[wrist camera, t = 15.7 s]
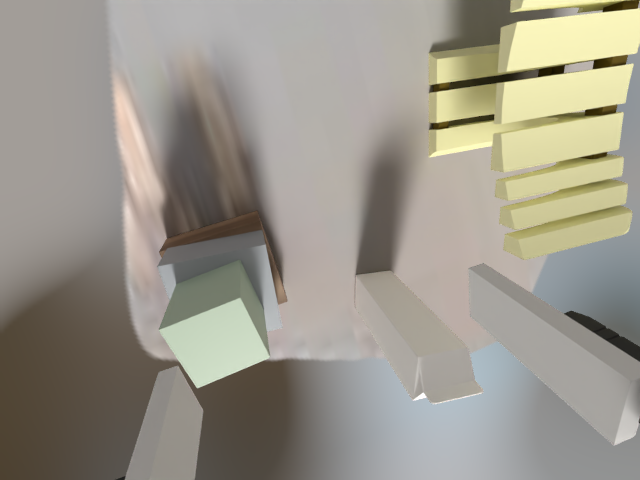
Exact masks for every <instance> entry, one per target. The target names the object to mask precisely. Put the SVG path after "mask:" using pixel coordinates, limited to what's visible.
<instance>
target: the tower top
mask: <svg viewBox="0 0 640 480" xmlns="http://www.w3.org/2000/svg"><path fill="white" fill-rule="evenodd" d="M237 260H241V263H242V265H243V267H244V269H245V271H246V273H247V275H248V277H249V280H250V282H251V284H252V286H253V288H254V290H255V292H256V294H257V297H258V299H259V301H260V303H261V305H262V307H263V309H264V314H265V322H266V329H267V332H268V331H272V330H276V329H280V328H283V327H282V322H281V317H280V312H279V308H278V303H277V298H276V293H275V288H274V283H273V278H272V273H271V268H270V264H269V259H268V254H267V249H266V244H265V240H264V235H263V231H262V230H258V231H253V232H248V233H243V234H238V235H233V236H228V237H222V238H217V239H212V240H207V241H202V242H197V243H192V244H187V245H181V246H176V247H171V248H167V250H166V252H165V253H164V255H163V257H162V259H161V261H160V263H159V265H158V266H157V267H158V270H159V273H160V275H161V278H162V281H163V284H164V287H165V289H166V292H167V295H168V298H169V300H170V299H171V297H172V294H173V291H174V289H175V286H176V284H178V283H180V282H183V281H186V280H188V279H191V278H193V277H196V276H199V275H201V274H204V273H206V272H209V271H211V270H214V269H217V268H219V267H222V266H224V265H227V264H229V263H232V262H235V261H237Z"/></svg>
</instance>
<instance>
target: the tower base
mask: <svg viewBox="0 0 640 480" xmlns="http://www.w3.org/2000/svg"><path fill="white" fill-rule="evenodd" d="M258 230H262V231H263V235H264V240H265V244H266V249H267V254H268V259H269V264H270V268H271V273H272V278H273V283H274V288H275V293H276V298H277V303H278V305H279V304H281V303H284V302H287V297H286V294H285V290H284V286H283V283H282V280H281V277H280V275H279V272H278V269H277V266H276V263H275V260H274V257H273V254H272V251H271V248H270V246H269V243H268V240H267V237H266V234H265V231H264V228H263V225H262V222H261V219H260V217H259V214H258V211H254V212H251V213H248V214H245V215H241V216H238V217H235V218H232V219H228V220H225V221H222V222H219V223H215V224H212V225H209V226H206V227H203V228H199V229H196V230H193V231H190V232H186V233H183V234H180V235H177V236H173V237H170V238H167V239H166V241H165V243H164V244H163V246H162V248H161V250H160V251H159V253H160V255H161V257H163V255H164V253H165V252H166V250H167V248H171V247H176V246H181V245H187V244H192V243H197V242H202V241H207V240H212V239H217V238H222V237H228V236H233V235H238V234H243V233H248V232H253V231H258Z"/></svg>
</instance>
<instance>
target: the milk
mask: <svg viewBox="0 0 640 480" xmlns="http://www.w3.org/2000/svg"><path fill="white" fill-rule="evenodd" d="M355 308H356V310H357V312H358V313H359V315H360V317H361V318H362V320H363V321H364V323H365V325H366V326H367V328H368V329H369V331H370V333H371V334H372V336H373V338H374V339H375V341H376V342H377V344H378V346H379V347H380V349H381V350H382V352H383V354H384V355H385V357H386V358H387V360H388V361H389V363H390V365H391V367H392V368H393V370H394V371H395V373H396V374H397V376H398V378H399V379H400V381H401V383H402V384H403V386H404V388H405V389H406V391H407V392H408V394H409V396H410V397H411V399H412V400H418V399H422V398H428V400H429V401H430V402H431V403H432V404H438V403H442V402H447V401H451V400H455V399H459V398H464V397H468V396H472V395H477V394H481V393H483V389H482V388H481V387H480V386H479V385H478V383H477V382H476V381H475V378H474V373H473V368H472V363H471V358H470V352H469V348H468V347H467V346H466V345H465V344H464V343H463V342H462V341H461V340H460V339H459V338H458V337H457V336H456V335H455V334H454V333H453V332H452V331H451V330H450V329H449V328H448V327H447V326H446V325H445V324H444V323H443V322H442V321H441V320H440V319H439V318H438V317H437V316H436V315H435V314H434V313H433V312H432V311H431V310H430V309H429V308H428V307H427V306H426V305H425V304H424V303H423V302H422V301H421V300H420V299H419V298H418V297H417V296H416V295H415V294H414V293H413V292H412V291H411V290H410V289H409V288H408V287H407V286H406V285H405V284H404V283H403V282H402V281H401V280H400V279H399V278H398V277H397V276H396V275H395V274H394V273H393V272H392V271H383V272H375V273H367V274H359V275H356V284H355Z"/></svg>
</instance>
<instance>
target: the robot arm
mask: <svg viewBox="0 0 640 480" xmlns="http://www.w3.org/2000/svg"><path fill="white" fill-rule="evenodd" d="M469 304H470V317H472V318H473V319H474V320H475V321H476V322H477V323H478V324H479V325H480V326H482V327H483V328H484V329H485V330H486V331H487V332H488V333H489V334H490V335H492V336H493V337H494V338H495V339H496V340H497V341H498V342H499V343H500V344H502V345H503V346H504V347H505V348H506V349H507V350H508V351H509V352H510V353H512V354H513V355H514V356H515V357H516V358H517V359H518V360H519V361H520V362H522V363H523V364H524V365H525V366H526V367H527V368H528V369H529V370H530V371H531V372H533V373H534V374H535V375H536V376H537V377H539V379H540V380H542V381H543V382H544V383H545V384H546V385H547V386H548V387H549V388H550V389H552V390H553V391H554V392H555V393H556V394H557V395H558V396H559V397H560V398H562V399H563V400H564V401H565V402H566V403H567V404H568V405H569V406H570V407H571V408H573V409H574V410H575V411H576V412H577V413H578V414H579V415H580V416H581V417H583V418H584V419H585V420H586V421H587V422H588V423H589V424H590V425H591V426H593V427H594V428H595V429H596V430H597V431H598V432H599V433H600V434H601V435H603V436H604V437H605V438H606V439H607V440H608V441H609V442H610V443H612V444H613V445H616V444H619V443H621V442H623V441H625V440H628V439H630V438H632V437H635V434H636V432H637V428H638V425H639V423H640V347H639V346H638V345H636V344H634V343H633V342H631V341H629V340H628V339H626V338H624V337H620V336H619V335H618V334H617V333H616V332H614V331H612V330H610V329H607V328H606V327H605V326H604V325H602V324H601V323H599V322H597V321H596V320H594V319H592V318H590V317H588V316H585V315H582V314H579V313H576V312H574V311H569V312H567V313H564V314H563V313H562V312H560V311H558V310H557V309H555V308H554V307H552V306H551V305H549V304H547V303H546V302H544V301H542V300H541V299H539V298H538V297H536V296H534V295H533V294H532V293H530V292H528V291H527V290H525V289H524V288H522V287H520V286H519V285H517V284H516V283H514V282H513V281H511V280H509V279H508V278H506V277H505V276H503V275H501V274H500V273H498V272H497V271H495V270H494V269H492V268H490V267H489V266H487V265H486V264H484V263H483V264H480V265H477V266H474V267H471V268H469ZM202 416H203V409H202V408H201V406H200V404H199V403H198V401H197V399H196V397H195V395H194V394H193V392H192V390H191V388H190V386H189V385H188V383H187V381H186V379H185V378H184V376H183V374H182V372H181V370H180V369H179V367H178V366H176V367H173V368H170V369H167V370H164V371H161V372H159V373H158V376H157V379H156V383H155V386H154V389H153V392H152V395H151V398H150V401H149V405H148V408H147V411H146V414H145V418H144V421H143V424H142V427H141V430H140V433H139V436H138V440H137V443H136V446H135V449H134V452H133V455H132V458H131V462H130V465H129V468H128V471H127V474H126V476H125V477H122V478H119V479H117V480H194V478H195V471H196V462H197V454H198V448H199V440H200V432H201V424H202Z"/></svg>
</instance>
